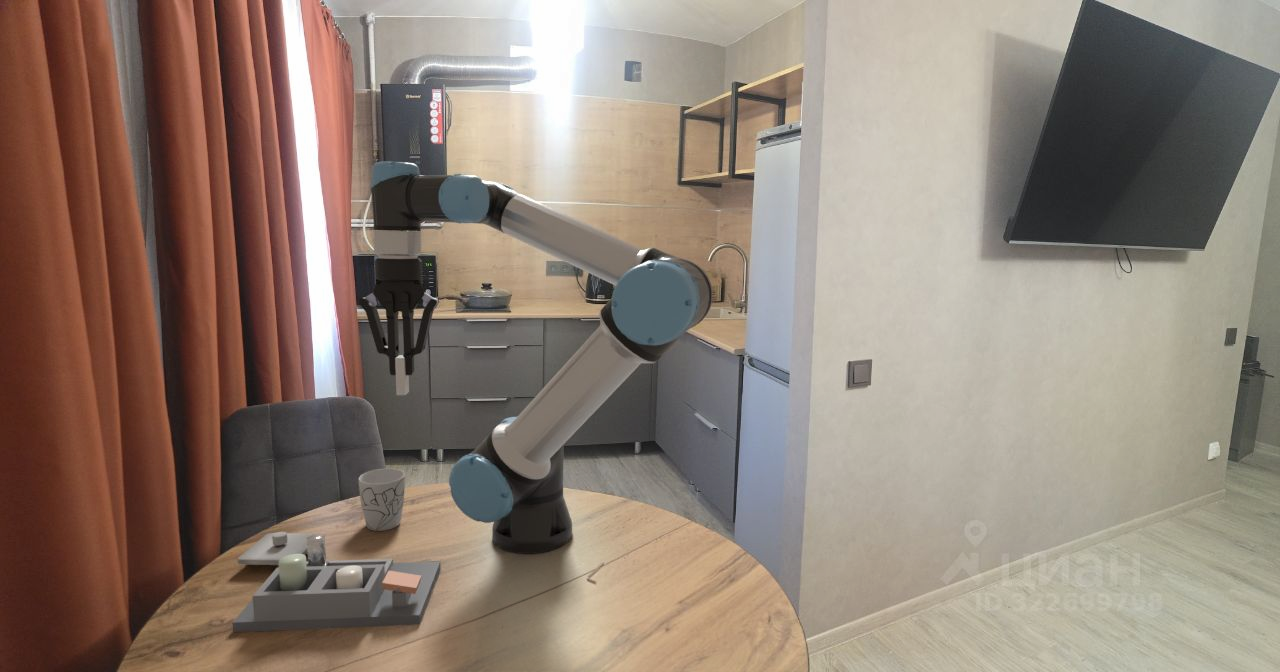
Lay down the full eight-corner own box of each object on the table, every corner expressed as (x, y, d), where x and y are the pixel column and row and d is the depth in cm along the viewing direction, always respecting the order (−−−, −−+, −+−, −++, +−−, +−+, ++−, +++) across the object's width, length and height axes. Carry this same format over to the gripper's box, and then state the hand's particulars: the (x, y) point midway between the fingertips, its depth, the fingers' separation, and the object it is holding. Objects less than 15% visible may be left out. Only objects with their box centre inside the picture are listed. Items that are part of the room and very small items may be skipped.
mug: (382, 507, 137) (381, 461, 135) (421, 510, 136) (419, 464, 134) (351, 532, 126) (349, 482, 124) (393, 535, 124) (391, 485, 123)
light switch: (295, 576, 110) (293, 547, 109) (236, 575, 109) (234, 546, 109) (322, 547, 119) (321, 521, 118) (268, 547, 119) (266, 520, 118)
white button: (366, 589, 101) (365, 565, 100) (358, 602, 97) (357, 577, 97) (342, 590, 101) (340, 565, 100) (333, 603, 97) (332, 578, 96)
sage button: (311, 577, 100) (309, 553, 99) (301, 590, 96) (300, 565, 96) (286, 578, 99) (284, 554, 99) (276, 591, 96) (274, 566, 95)
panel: (440, 569, 112) (439, 539, 112) (419, 624, 97) (418, 589, 96) (281, 574, 110) (279, 543, 109) (233, 632, 94) (230, 596, 93)
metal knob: (329, 568, 109) (327, 533, 108) (323, 577, 106) (321, 541, 105) (312, 568, 108) (309, 533, 107) (305, 577, 106) (303, 541, 105)
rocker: (420, 582, 102) (421, 575, 102) (414, 596, 98) (416, 588, 98) (387, 577, 101) (388, 570, 101) (380, 591, 97) (382, 583, 97)
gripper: (442, 256, 115) (445, 388, 118) (364, 255, 113) (370, 388, 117) (433, 258, 107) (437, 398, 111) (350, 257, 106) (357, 398, 110)
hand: (402, 393), depth 114 cm, fingers closed
